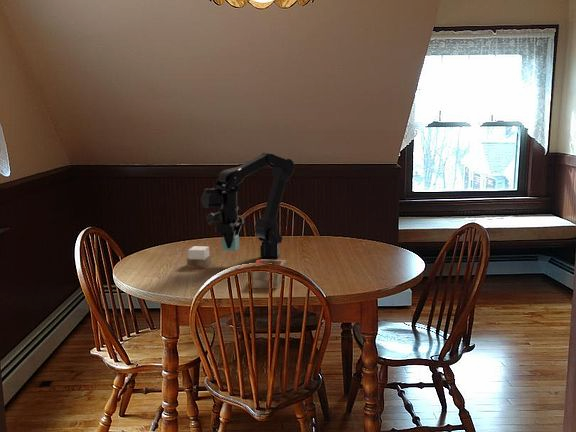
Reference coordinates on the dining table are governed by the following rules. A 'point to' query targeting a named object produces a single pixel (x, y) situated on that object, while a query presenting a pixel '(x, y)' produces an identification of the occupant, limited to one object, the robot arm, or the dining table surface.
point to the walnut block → (198, 262)
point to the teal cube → (234, 244)
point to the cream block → (198, 252)
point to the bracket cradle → (267, 276)
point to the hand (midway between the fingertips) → (230, 246)
